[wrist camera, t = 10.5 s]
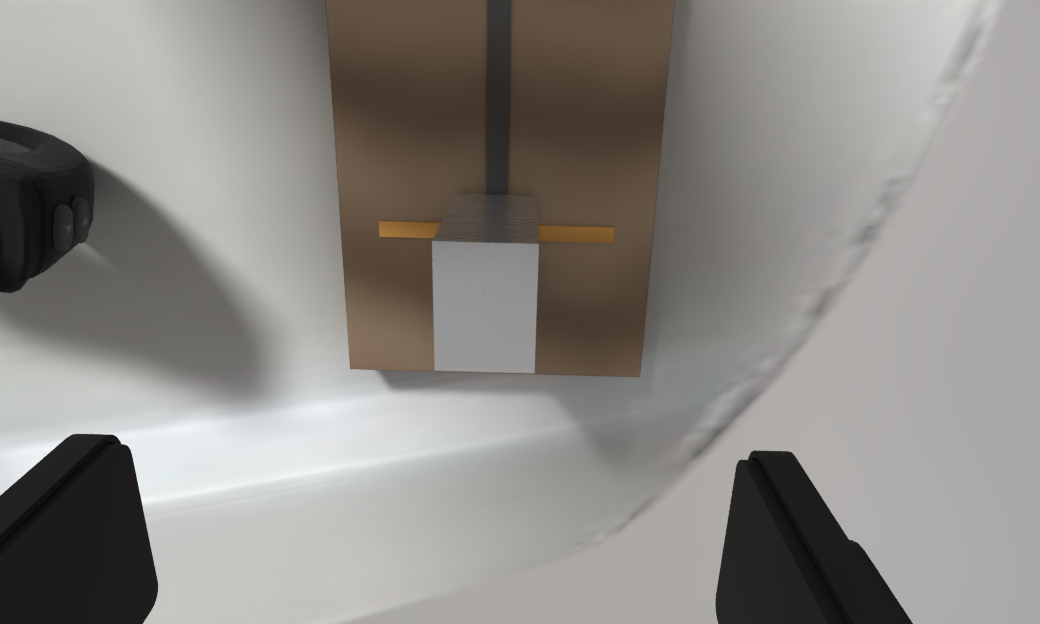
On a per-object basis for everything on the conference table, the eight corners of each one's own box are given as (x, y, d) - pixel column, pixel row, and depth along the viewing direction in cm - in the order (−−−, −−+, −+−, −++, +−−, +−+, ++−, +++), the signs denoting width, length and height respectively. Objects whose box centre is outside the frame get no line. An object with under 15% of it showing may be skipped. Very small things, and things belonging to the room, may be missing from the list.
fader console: (324, -258, 23) (305, -287, 22) (686, -250, 23) (700, -277, 21) (361, 349, 31) (349, 370, 29) (633, 357, 31) (640, 378, 29)
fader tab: (456, 192, 26) (431, 240, 20) (536, 195, 26) (538, 244, 20) (457, 294, 28) (434, 370, 21) (533, 296, 28) (534, 373, 21)
